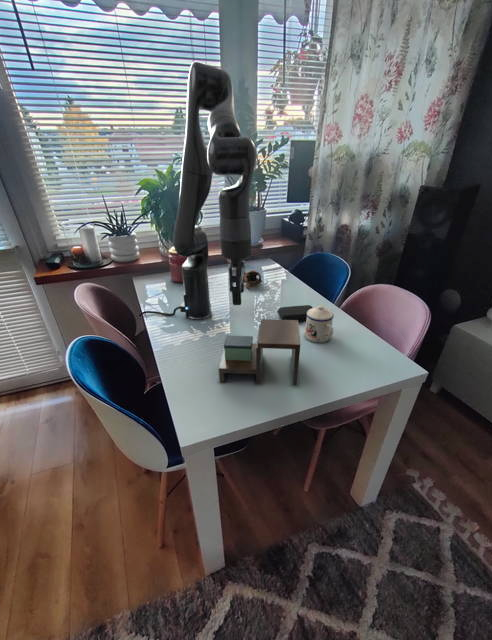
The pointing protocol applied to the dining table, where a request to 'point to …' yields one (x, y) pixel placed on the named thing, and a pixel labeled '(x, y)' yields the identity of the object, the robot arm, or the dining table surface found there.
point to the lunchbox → (238, 348)
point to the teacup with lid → (319, 324)
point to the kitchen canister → (176, 265)
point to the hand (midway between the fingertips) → (238, 298)
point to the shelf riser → (269, 336)
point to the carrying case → (294, 312)
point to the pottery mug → (252, 279)
